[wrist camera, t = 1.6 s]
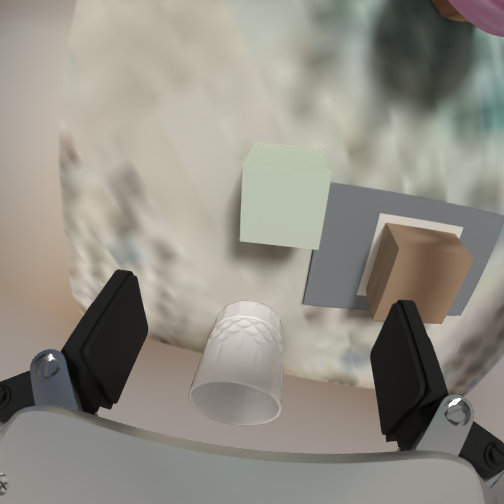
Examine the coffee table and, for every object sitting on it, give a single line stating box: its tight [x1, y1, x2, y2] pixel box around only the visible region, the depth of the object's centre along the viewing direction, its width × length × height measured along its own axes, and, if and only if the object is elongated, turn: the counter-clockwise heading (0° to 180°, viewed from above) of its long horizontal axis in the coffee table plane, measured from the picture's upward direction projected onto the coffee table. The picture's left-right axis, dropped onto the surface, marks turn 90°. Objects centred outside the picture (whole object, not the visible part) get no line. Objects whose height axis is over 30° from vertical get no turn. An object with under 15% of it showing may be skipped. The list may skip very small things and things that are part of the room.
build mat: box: [303, 183, 504, 316], centre depth 25 cm, size 18×12×1 cm, turn 87°
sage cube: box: [240, 142, 331, 250], centre depth 21 cm, size 5×5×6 cm
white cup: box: [189, 301, 283, 426], centre depth 28 cm, size 8×8×10 cm
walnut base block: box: [366, 223, 474, 324], centre depth 24 cm, size 7×7×4 cm
